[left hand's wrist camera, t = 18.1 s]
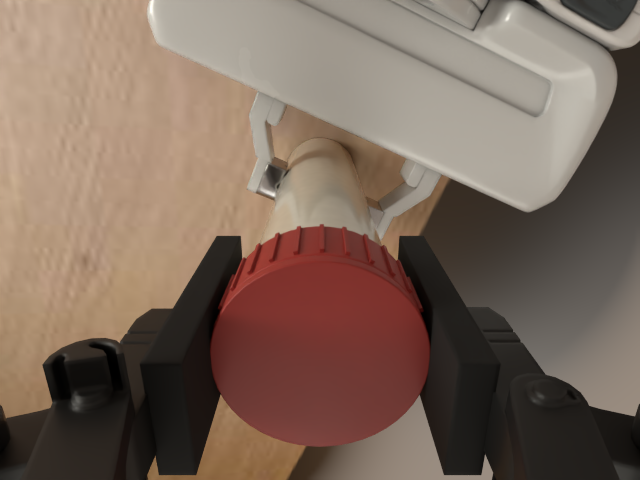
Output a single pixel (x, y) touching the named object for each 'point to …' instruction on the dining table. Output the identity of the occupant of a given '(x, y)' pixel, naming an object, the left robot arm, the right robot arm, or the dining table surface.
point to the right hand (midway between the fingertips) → (314, 214)
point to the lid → (320, 338)
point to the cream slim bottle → (320, 192)
